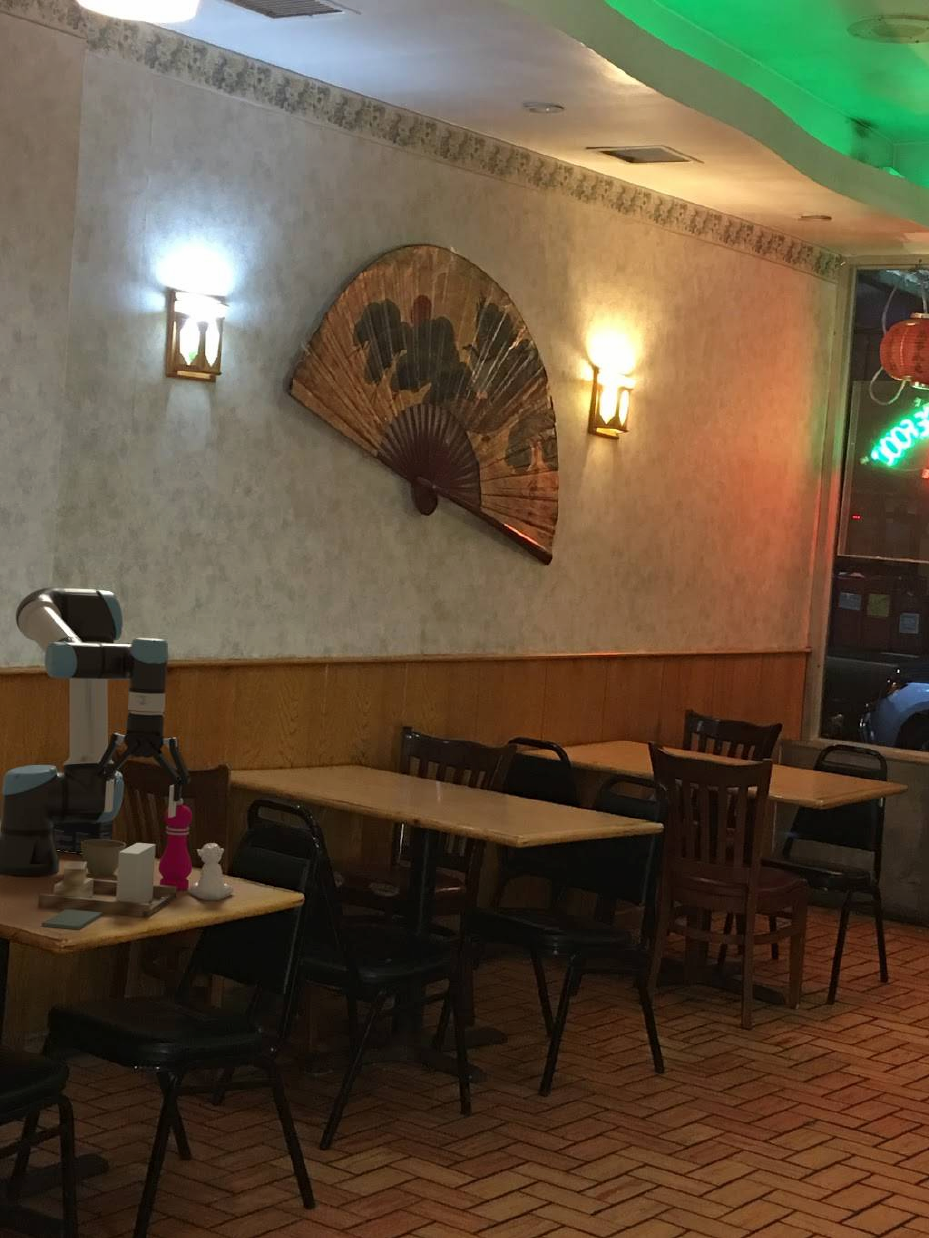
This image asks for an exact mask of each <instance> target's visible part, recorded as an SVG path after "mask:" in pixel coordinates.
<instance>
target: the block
mask: <svg viewBox="0 0 929 1238" xmlns="http://www.w3.org/2000/svg"><path fill="white" fill-rule="evenodd" d="M156 846H157V845H156V844H155V843H144V842H136V843H133V844H132V845H130V846H128V847H126V848H125V849H124V850H122V851H120V852H119V859H118V868H117V876H116V877H117V878H116V881H117V893H116V894H115V895H116V896H115V900H116V901H126V902H137V903H147V904H149V903H150V902H149V901H151V900H152V901H153V898H152V897H153V884H154V881H155V880H154V877H155V860H156ZM152 901H151V902H152ZM148 902H149V903H148Z"/></svg>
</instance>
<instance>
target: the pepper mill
mask: <svg viewBox="0 0 929 1238" xmlns="http://www.w3.org/2000/svg"><path fill="white" fill-rule="evenodd" d="M168 810H169V807H167V809H166V810H165V813H164V822H165V823H166V824H167V826H166V827H165V829H166V831H165V833H166V834H167V844H166V847H165V850H164V851H163V854H162V857H161V858H160V861H159V864H158V872H159V874H160V875H161V878H160V881H159V885H165V886H176V887H177V890H181V891H186V890H188V889H189V888H190V886H189V885H190V884H189V882H190V881H189V879H188V877H189V876H190V874H191V873H192V870H193V869H192V868H193V867H192V866H193V865H192V861H191V857H190V854H189V852H188V847H187V837H188V836H187V835H189V834H190V832H189V830H190V827H189V825H190V824H191V823H192V821H193V813H192V811H191V809H190V807H189V806H186V805H184V799H183V798H182V797H181V799H180V801H176V814H175V816H174V817H172V818H169V817H168ZM185 889H186V890H185Z"/></svg>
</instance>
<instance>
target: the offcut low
mask: <svg viewBox="0 0 929 1238" xmlns="http://www.w3.org/2000/svg"><path fill="white" fill-rule="evenodd" d="M94 879H95V878H92V877H86V879H85V882H84V884H83V886H70V885H63V880H61V881H59V882H58V883H56V884H54V887H53V893H54V895H63V896H74V897H84V898H89V897H90V898H92V897H93V895H94V892H93V881H94Z"/></svg>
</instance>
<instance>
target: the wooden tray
mask: <svg viewBox="0 0 929 1238" xmlns="http://www.w3.org/2000/svg"><path fill="white" fill-rule="evenodd" d="M177 892H178V891H177V887H176V886H165V885H160V884H154V883H153V897H164V898H160V899H159V900H157V901H156V902H154V903H152V904H150V903H137V902H126V901H116V899H103V898H96V897H95V898H93V897H90V898H84V897H74V896H63V895H54V892H53V893H51V894H50V893H39V894H38V902H37V908H43V907H44V908H45V909H46V908H47V909H56V910H63V911H64V910H66V909H73V910H84V911H94V912H103V914H107V915H108V914H110V915H116V916H117V915H119V916H127V917H129V916H130V917H139V918H149V917H150V916H152V915H153V914H154V912H155V911H156V910H158V909H159V908H161V907H162V908H164V907H165V906H166V904H167V903H168V904H169V902H170V901H171V902H172V900H173V899H174V898H176V899H177ZM93 893H102V894H103V893H104V894H110V893H111V894H113V895H116V893H117V880H111V879H98V878H94V881H93ZM174 900H175V899H174ZM174 900H173V901H174ZM171 902H170V903H171ZM168 904H167V905H168ZM163 906H164V907H163ZM162 908H161V909H162ZM159 910H160V909H159ZM159 910H158V911H159ZM156 912H157V911H156ZM156 912H155V913H156ZM152 913H153V914H152ZM151 914H152V915H151ZM148 916H149V917H148Z"/></svg>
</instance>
